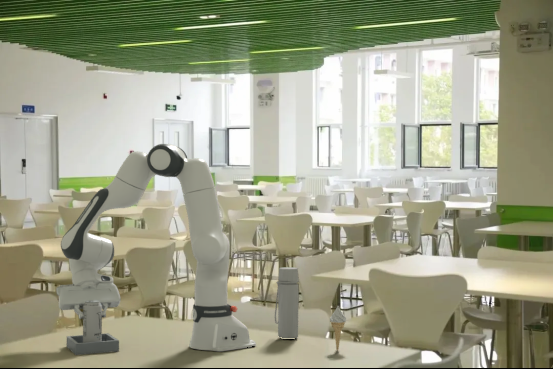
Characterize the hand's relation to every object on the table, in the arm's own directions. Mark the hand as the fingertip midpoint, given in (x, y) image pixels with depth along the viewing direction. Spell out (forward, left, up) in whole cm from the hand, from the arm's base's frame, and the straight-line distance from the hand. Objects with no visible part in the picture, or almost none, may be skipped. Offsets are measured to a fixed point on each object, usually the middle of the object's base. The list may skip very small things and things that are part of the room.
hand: (92, 317), depth 263 cm
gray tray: (0, -1, -11) cm, 11 cm away
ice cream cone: (-73, +34, -11) cm, 82 cm away
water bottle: (-67, +8, -11) cm, 68 cm away
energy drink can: (0, -1, -10) cm, 10 cm away
